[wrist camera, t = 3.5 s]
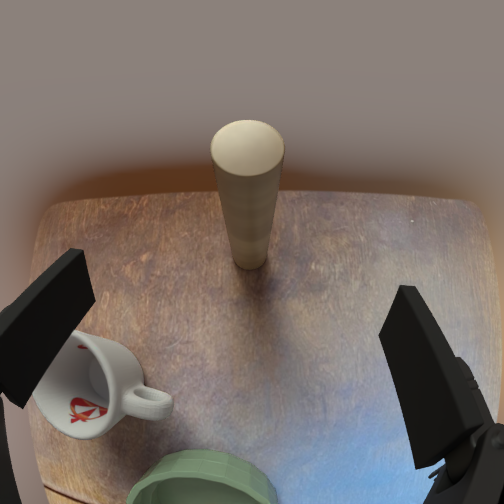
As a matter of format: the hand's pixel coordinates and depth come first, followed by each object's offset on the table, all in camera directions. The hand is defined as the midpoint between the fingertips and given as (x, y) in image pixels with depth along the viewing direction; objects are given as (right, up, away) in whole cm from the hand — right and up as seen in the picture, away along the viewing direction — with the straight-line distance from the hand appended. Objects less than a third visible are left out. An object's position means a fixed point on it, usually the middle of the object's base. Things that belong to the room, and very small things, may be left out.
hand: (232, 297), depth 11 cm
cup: (-10, -10, +11) cm, 18 cm away
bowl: (-3, -21, +8) cm, 22 cm away
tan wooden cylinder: (+1, +2, +14) cm, 14 cm away
